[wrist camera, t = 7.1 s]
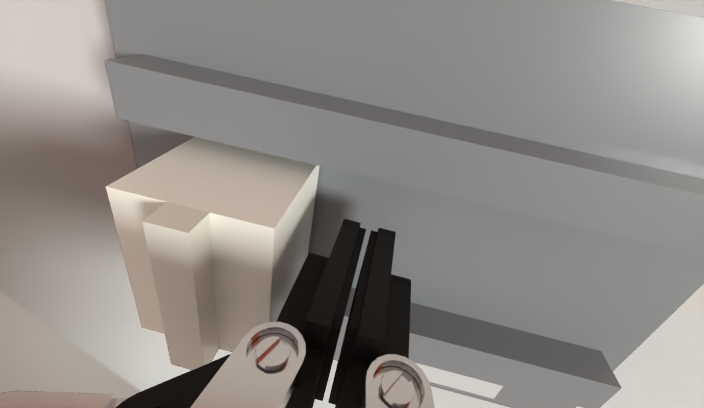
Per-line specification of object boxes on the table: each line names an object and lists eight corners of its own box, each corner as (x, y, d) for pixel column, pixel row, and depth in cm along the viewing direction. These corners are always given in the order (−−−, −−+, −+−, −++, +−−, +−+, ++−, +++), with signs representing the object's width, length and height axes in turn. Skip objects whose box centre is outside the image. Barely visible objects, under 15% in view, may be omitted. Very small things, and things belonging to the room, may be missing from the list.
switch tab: (320, 159, 11) (259, 251, 6) (305, 271, 13) (255, 387, 9) (203, 131, 11) (73, 204, 7) (211, 247, 13) (121, 350, 9)
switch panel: (833, 53, 9) (1044, 73, 6) (547, 380, 17) (574, 457, 14) (141, -83, 10) (24, -124, 7) (188, 286, 18) (144, 339, 15)
